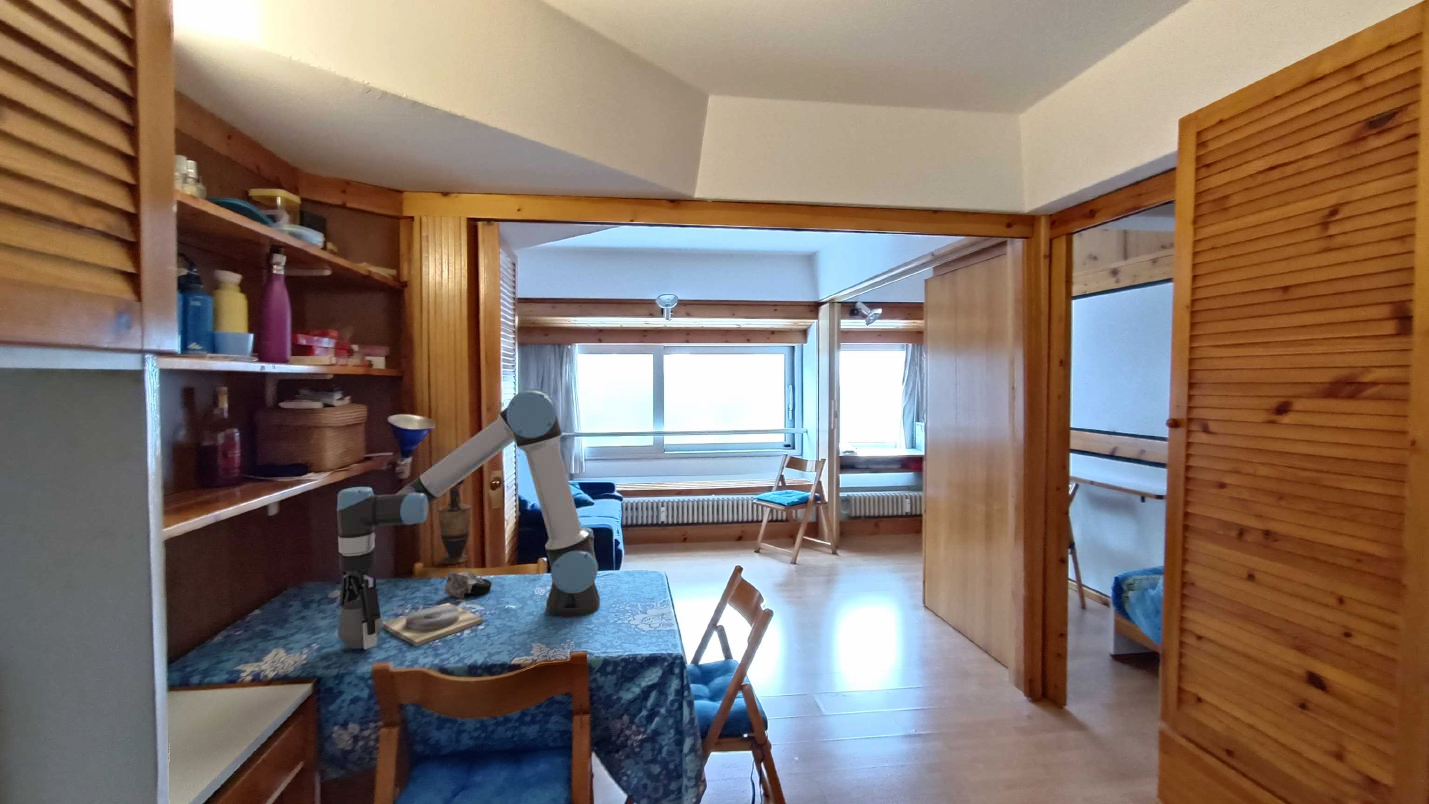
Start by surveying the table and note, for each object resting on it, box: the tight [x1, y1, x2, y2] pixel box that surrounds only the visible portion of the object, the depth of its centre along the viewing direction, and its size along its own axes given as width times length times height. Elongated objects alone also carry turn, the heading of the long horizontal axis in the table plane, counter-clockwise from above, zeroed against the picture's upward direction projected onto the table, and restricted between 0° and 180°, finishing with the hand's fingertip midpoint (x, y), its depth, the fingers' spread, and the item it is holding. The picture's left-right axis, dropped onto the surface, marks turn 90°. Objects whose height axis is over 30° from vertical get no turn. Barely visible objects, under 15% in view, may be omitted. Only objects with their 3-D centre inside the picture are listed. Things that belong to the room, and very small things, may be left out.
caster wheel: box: [443, 571, 493, 600], centre depth 184 cm, size 7×11×10 cm
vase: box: [437, 477, 472, 565], centre depth 214 cm, size 11×11×30 cm
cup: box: [337, 598, 383, 649], centre depth 146 cm, size 10×9×10 cm
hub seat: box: [382, 602, 484, 647], centre depth 160 cm, size 18×18×3 cm
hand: (361, 641), depth 146 cm, fingers closed on cup, 9 cm apart
